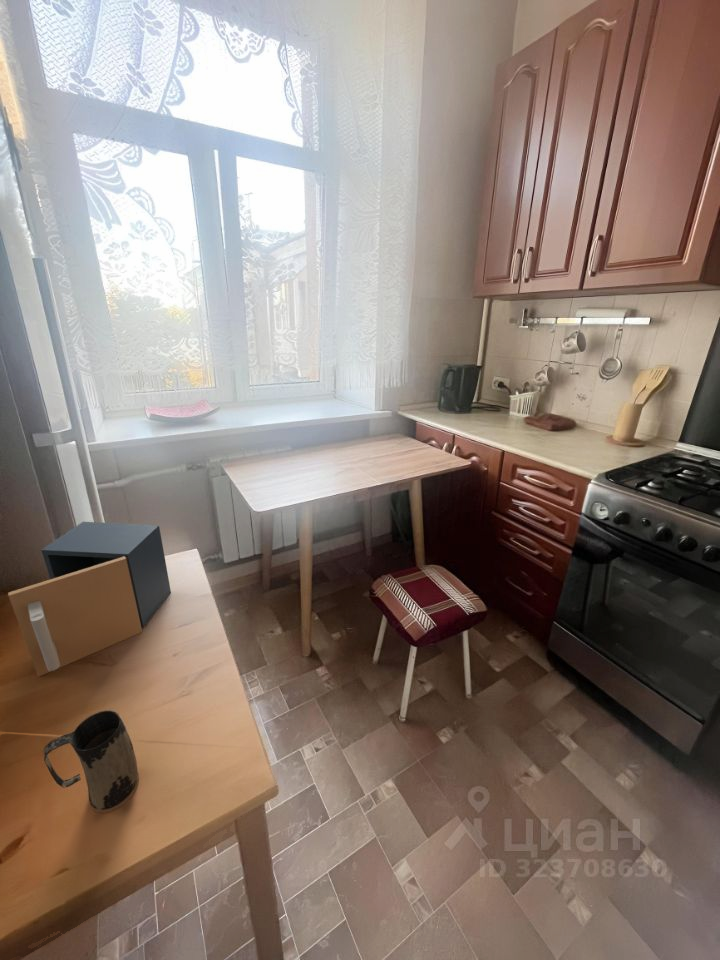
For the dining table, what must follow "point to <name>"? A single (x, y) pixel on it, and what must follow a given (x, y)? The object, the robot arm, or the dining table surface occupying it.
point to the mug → (101, 760)
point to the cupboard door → (76, 614)
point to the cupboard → (113, 542)
